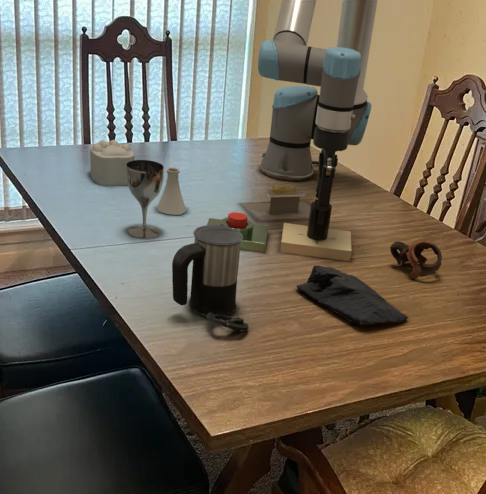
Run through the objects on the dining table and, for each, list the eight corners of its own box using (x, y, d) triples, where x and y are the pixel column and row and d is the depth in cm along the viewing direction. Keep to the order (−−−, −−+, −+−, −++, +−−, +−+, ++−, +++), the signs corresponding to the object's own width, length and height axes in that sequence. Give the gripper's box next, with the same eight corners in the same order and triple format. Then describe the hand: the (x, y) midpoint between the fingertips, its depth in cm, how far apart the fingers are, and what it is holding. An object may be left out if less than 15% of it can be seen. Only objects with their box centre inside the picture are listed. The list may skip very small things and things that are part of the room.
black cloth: (353, 336, 145) (357, 314, 143) (290, 287, 160) (293, 266, 157) (413, 322, 153) (418, 301, 150) (349, 277, 167) (352, 256, 165)
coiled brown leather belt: (435, 267, 179) (450, 246, 171) (424, 297, 174) (439, 277, 167) (389, 245, 178) (401, 223, 171) (376, 275, 174) (389, 253, 166)
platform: (241, 203, 196) (243, 178, 193) (304, 201, 203) (307, 177, 200) (258, 221, 188) (260, 195, 184) (323, 218, 195) (327, 193, 191)
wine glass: (168, 231, 176) (170, 166, 168) (149, 241, 170) (150, 174, 161) (139, 222, 178) (140, 157, 170) (119, 232, 172) (118, 165, 164)
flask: (189, 207, 190) (191, 167, 184) (183, 217, 184) (184, 176, 178) (160, 203, 190) (161, 162, 184) (153, 213, 184) (154, 171, 178)
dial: (306, 231, 180) (311, 198, 175) (327, 233, 180) (332, 201, 175) (306, 238, 176) (310, 205, 171) (327, 241, 176) (332, 208, 171)
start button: (247, 222, 177) (248, 213, 176) (245, 229, 173) (246, 220, 172) (228, 219, 177) (229, 211, 175) (226, 226, 173) (227, 218, 172)
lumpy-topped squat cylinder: (97, 186, 194) (96, 151, 189) (86, 169, 204) (84, 135, 199) (137, 184, 199) (138, 151, 194) (124, 168, 208) (124, 135, 203)
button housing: (267, 234, 182) (269, 218, 179) (264, 252, 173) (266, 235, 170) (208, 226, 181) (209, 210, 179) (202, 244, 172) (203, 227, 170)
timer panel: (348, 241, 184) (350, 230, 183) (349, 261, 174) (351, 250, 173) (282, 232, 184) (284, 222, 182) (280, 252, 174) (281, 241, 172)
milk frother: (207, 291, 154) (212, 220, 145) (274, 317, 148) (283, 244, 140) (163, 315, 143) (165, 240, 135) (233, 344, 137) (239, 268, 129)
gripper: (352, 141, 157) (335, 248, 170) (347, 119, 171) (332, 219, 185) (316, 137, 156) (301, 244, 169) (314, 115, 171) (301, 216, 184)
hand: (317, 231), depth 177 cm, fingers closed on dial, 5 cm apart
